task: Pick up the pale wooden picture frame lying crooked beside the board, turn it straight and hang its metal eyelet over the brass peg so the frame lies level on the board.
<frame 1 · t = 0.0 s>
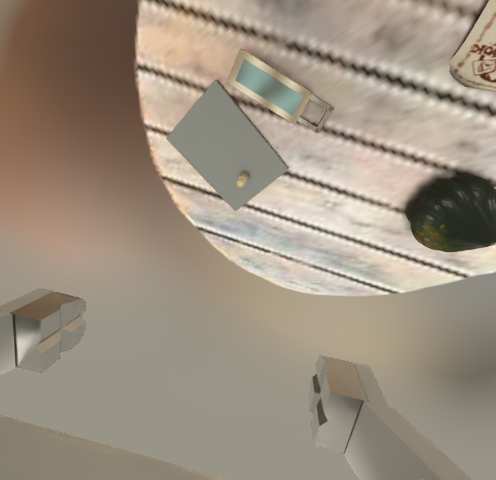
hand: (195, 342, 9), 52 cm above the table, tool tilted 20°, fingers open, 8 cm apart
board: (228, 152, 58), on the table
frame: (272, 87, 50), on the table
squash: (440, 201, 55), on the table
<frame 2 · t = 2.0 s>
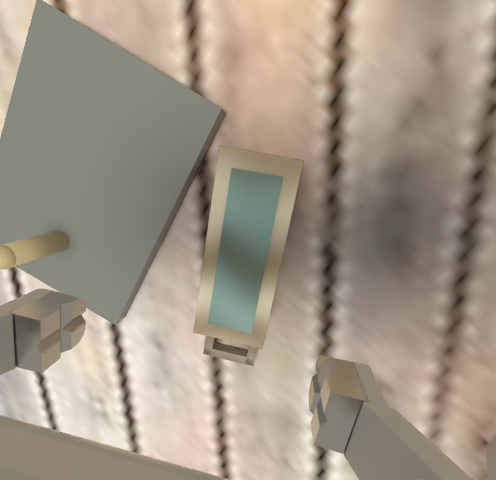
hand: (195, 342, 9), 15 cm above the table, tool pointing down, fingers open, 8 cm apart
board: (93, 182, 24), on the table
frame: (251, 239, 23), on the table
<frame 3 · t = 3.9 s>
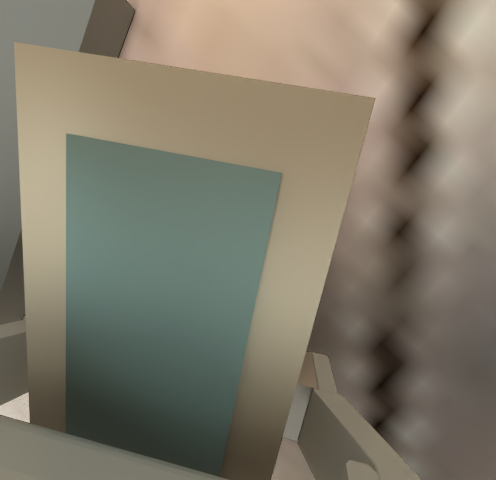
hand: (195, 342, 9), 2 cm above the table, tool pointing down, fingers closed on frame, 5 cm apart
frame: (209, 315, 10), on the table, touching gripper
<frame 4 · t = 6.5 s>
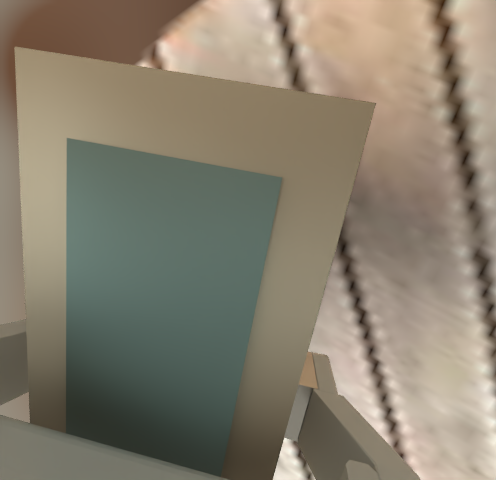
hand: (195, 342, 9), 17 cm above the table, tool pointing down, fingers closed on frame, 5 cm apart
frame: (209, 317, 10), point 15 cm above the table, touching gripper
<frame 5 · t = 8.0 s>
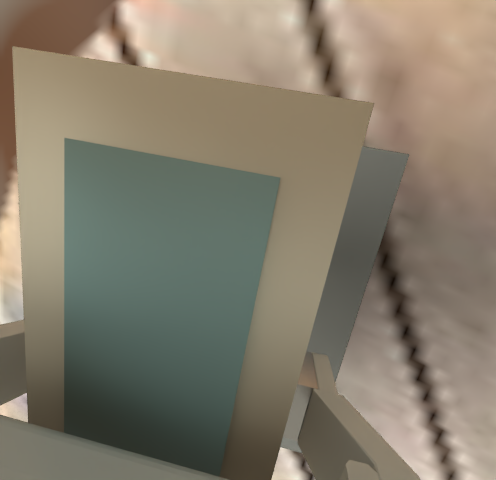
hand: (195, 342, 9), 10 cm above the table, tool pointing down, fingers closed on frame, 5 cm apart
board: (236, 292, 19), on the table
frame: (209, 317, 10), point 8 cm above the table, touching gripper
when the fingers open (5 cm above the table, at t = 9.4 s): frame drops 1 cm, resting on board.
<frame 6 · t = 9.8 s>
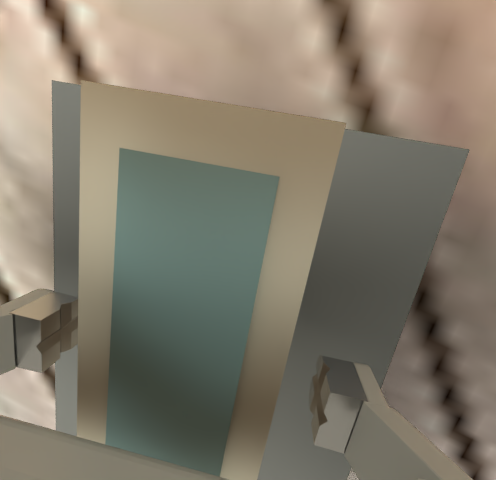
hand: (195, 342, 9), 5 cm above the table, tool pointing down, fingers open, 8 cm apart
board: (215, 339, 14), on the table
frame: (217, 300, 12), point 1 cm above the table, touching board
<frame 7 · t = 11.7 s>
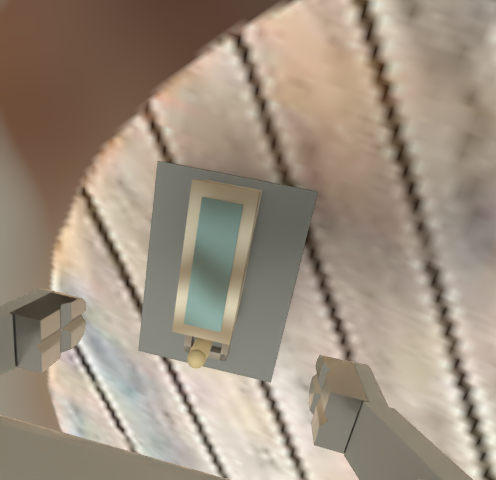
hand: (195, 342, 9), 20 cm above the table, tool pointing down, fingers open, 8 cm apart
board: (221, 275, 30), on the table
frame: (223, 252, 27), point 1 cm above the table, touching board
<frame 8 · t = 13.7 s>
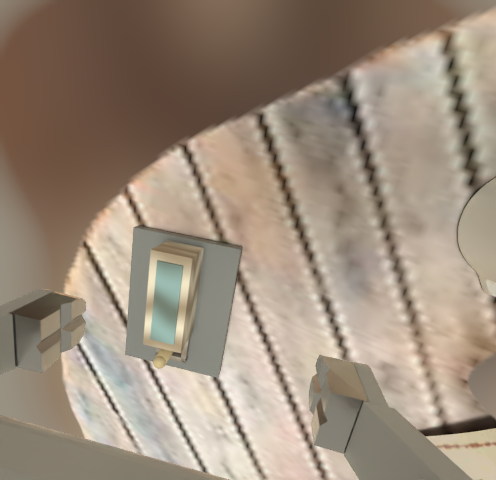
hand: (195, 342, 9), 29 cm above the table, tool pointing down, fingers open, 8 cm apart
board: (181, 302, 42), on the table
frame: (180, 288, 40), point 1 cm above the table, touching board
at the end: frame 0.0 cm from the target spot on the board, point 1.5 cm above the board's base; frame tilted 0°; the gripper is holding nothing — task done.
